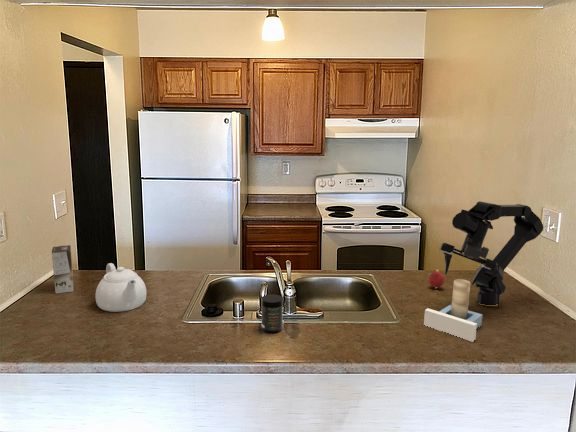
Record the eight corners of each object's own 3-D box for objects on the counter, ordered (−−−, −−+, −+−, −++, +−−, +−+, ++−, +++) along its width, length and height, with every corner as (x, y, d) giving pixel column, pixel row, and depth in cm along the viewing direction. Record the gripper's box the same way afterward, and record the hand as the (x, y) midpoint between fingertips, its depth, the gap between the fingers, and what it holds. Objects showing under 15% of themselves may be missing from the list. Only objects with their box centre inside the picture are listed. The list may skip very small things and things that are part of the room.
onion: (440, 292, 180) (442, 273, 179) (426, 289, 184) (427, 270, 182) (445, 288, 185) (447, 269, 183) (431, 285, 188) (432, 266, 186)
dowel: (454, 318, 153) (458, 278, 150) (469, 322, 149) (473, 282, 146) (447, 322, 149) (450, 281, 146) (462, 327, 146) (466, 285, 143)
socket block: (448, 315, 157) (449, 304, 156) (481, 326, 150) (482, 314, 149) (433, 325, 149) (434, 314, 148) (467, 337, 142) (468, 324, 141)
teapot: (156, 295, 173) (155, 260, 170) (136, 315, 155) (134, 276, 152) (109, 292, 175) (106, 258, 172) (83, 312, 157) (80, 274, 154)
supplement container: (286, 330, 145) (287, 299, 143) (267, 335, 142) (268, 304, 140) (275, 322, 151) (276, 292, 149) (257, 327, 147) (257, 296, 145)
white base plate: (450, 310, 163) (451, 294, 162) (496, 324, 153) (498, 307, 151) (423, 327, 150) (424, 309, 148) (472, 344, 139) (474, 325, 137)
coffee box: (74, 291, 175) (70, 250, 172) (55, 294, 172) (51, 252, 169) (73, 283, 183) (70, 244, 180) (55, 285, 181) (52, 246, 177)
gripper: (451, 226, 152) (434, 270, 153) (508, 247, 148) (490, 292, 148) (447, 227, 163) (431, 268, 163) (500, 247, 159) (484, 289, 159)
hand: (458, 279), depth 158 cm, fingers open, 9 cm apart
